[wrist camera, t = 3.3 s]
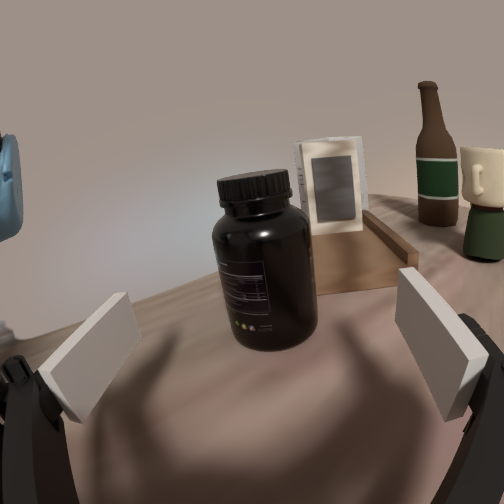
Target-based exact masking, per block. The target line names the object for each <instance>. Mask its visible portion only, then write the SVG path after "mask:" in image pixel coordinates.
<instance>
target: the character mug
mask: <svg viewBox="0 0 504 504" xmlns="http://www.w3.org/2000/svg"><path fill="white" fill-rule="evenodd" d="M460 153H461V168H462V174H463V185H462V196H463V198H464V199H465V200H467V201H468V202H470V205H471V209H470V211H469V215H468V221H467V226H466V231H465V237H464V244H463V252H465V253H466V254H467V255H470V256H477V257H479V259H480V260H482V259H483V258H487V259H495V260H498V259H504V210H503V207H504V150H501V149H488V148H474V147H460Z"/></svg>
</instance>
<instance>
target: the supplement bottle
mask: <svg viewBox="0 0 504 504" xmlns="http://www.w3.org/2000/svg"><path fill="white" fill-rule="evenodd" d="M217 187H218V192H219V197H220V200H219V203H220V207H222V208H224V209H225V215H224V216H223V217H222V218H221V219H220V220H219V221H218V222H217V223H216V225H215V226H214V229H213V232H212V240H213V246H214V251H215V255H216V260H217V265H218V270H219V275H220V279H221V284H222V288H223V293H224V297H225V302H226V306H227V311H228V315H229V319H230V323H231V327H232V331H233V334H234V336H235V338H236V339H237V340H238V341H239V342H240V343H241V344H242V345H244V346H246V347H248V348H250V349H253V350H257V351H264V352H274V351H282V350H286V349H289V348H292V347H295V346H297V345H299V344H301V343H302V342H304V341H305V340H307V339H308V338H309V337H310V336H311V335H312V334H313V332H314V331H315V329H316V326H317V323H318V311H317V295H316V282H315V270H314V259H313V248H312V238H311V229H310V222H309V219H308V217H307V216H306V214H305V213H304V212H303V211H302V210H300V209H299V208H297V207H295V206H293V205H291V204H290V202H289V198H290V197H292V189H291V188H290V182H289V175H288V170H286V169H275V170H264V171H257V172H250V173H245V174H239V175H235V176H230V177H226V178H222V179H219V180H217Z"/></svg>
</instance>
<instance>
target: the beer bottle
mask: <svg viewBox="0 0 504 504" xmlns="http://www.w3.org/2000/svg"><path fill="white" fill-rule="evenodd" d="M418 89H420V95H421V103H422V114H423V128H422V130H421V132H420V134H419V136H418V140H417V144H416V163H417V180H418V211H419V221H420V222H422V223H424V224H426V225H429V226H438V227H447V226H454V225H456V223H457V220H458V164H457V153H456V147H455V144H454V142H453V140H452V137H451V136H450V134H449V133H448V131H447V130H446V128H445V124H444V121H443V116H442V111H441V107H440V102H439V97H438V93H437V90H438V87H437V85H436V83H435V82H432V81H423V82H420V83H418Z"/></svg>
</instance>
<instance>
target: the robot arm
mask: <svg viewBox="0 0 504 504" xmlns="http://www.w3.org/2000/svg"><path fill="white" fill-rule="evenodd" d="M22 223H23V195H22V180H21V168H20V158H19V149H18V143H17V140H16V137H15V136H14V135H8V134H6V135H5V136H4V137H1V134H0V242H2V241H4V240H6V239H8V238H11V237H13V236H15V235H16V234H17V233H18V232H19V230H20V229H21V226H22ZM395 322H396V324H397V326H398V327H399V329H400V331H401V333H402V335H403V337H404V339H405V340H406V342H407V344H408V346H409V348H410V350H411V352H412V354H413V356H414V358H415V360H416V362H417V364H418V366H419V368H420V370H421V372H422V374H423V376H424V378H425V380H426V382H427V384H428V387H429V389H430V391H431V393H432V395H433V397H434V400H435V402H436V404H437V406H438V408H439V411H440V413H441V415H442V418H443V420H444V422H447V421H450V420H453V419H456V418H459V417H462V416H463V415H464V413H465V411H466V409H467V407H468V405H469V406H470V408H471V410H472V412H473V413H472V415H471V417H470V419H469V421H468V422H467V424H466V426H465V428H464V430H463V432H464V435H463V437H462V440H461V442H460V445H459V447H458V450H457V452H456V454H455V457H454V459H453V461H452V463H451V465H450V467H449V469H448V472H447V474H446V476H445V478H444V480H443V481H442V483H441V485H440V487H439V489H438V491H437V493H436V495H435V496H434V498H433V500H432V502H431V503H430V504H499V502H500V500H501V497H502V494H503V492H504V354H503V353H502V352H501V350H500V349H499V348H498V347H497V345H496V344H495V343H494V342H493V341H492V339H491V338H490V337H489V336H488V335H487V334H486V332H485V331H484V330H483V329H482V328H481V327H480V325H479V324H478V323H477V322H476V321H475V320H474V319H473V318H471V317H470V316H468V315H466V314H464V313H463V314H458V315H457V314H456V313H455V312H454V311H453V309H452V308H451V307H450V306H449V305H448V304H447V303H446V301H445V300H444V299H443V298H442V297H441V296H440V295H439V294H438V293H437V291H436V290H435V289H434V288H433V287H432V286H431V285H430V284H429V283H428V282H427V281H426V280H425V278H424V277H423V276H422V275H421V274H420V273H419V272H418V271H417V270H416V269H415V268H414V267H409V268H401V269H399V273H398V290H397V303H396V314H395ZM141 339H142V334H141V331H140V329H139V326H138V323H137V320H136V317H135V315H134V312H133V309H132V306H131V303H130V300H129V296H128V293H127V292H122V293H121V292H120V293H115V294H114V295H112V296H111V297H110V298H109V299H108V300H107V301H106V302H105V303H104V304H103V305H102V306H101V307H100V308H99V309H98V310H97V311H95V312H94V313H93V314H92V315H91V316H90V317H89V318H88V319H87V320H86V321H85V322H84V323H83V324H82V325H81V326H80V327H79V328H78V329H77V330H76V331H75V332H74V333H73V334H72V335H71V336H70V337H69V338H68V339H67V340H66V341H65V342H64V343H63V344H62V345H61V346H60V347H59V348H58V349H57V350H56V351H55V352H54V353H53V354H52V355H51V356H50V357H49V358H48V359H47V360H46V361H45V362H44V363H43V364H42V365H41V366H40V367H39V369H38V370H37V371H36V372H35V373H34V374H33V372H32V371H31V369H30V367H29V365H28V364H27V362H26V360H25V358H24V357H23V356H21V355H17V356H13V357H11V358H9V359H8V360H6V361H5V362H4V363H3V364H2V366H1V368H0V369H1V370H2V372H3V374H4V376H5V377H6V379H7V380H8V382H9V383H5V381H4V379H3V378H2V376H1V375H0V416H1V417H2V419H3V420H4V421H5V423H4V425H2V424H1V423H0V504H79V500H78V496H77V492H76V488H75V484H74V480H73V475H72V471H71V466H70V460H69V455H68V449H67V443H66V436H65V429H64V422H63V419H62V417H61V416H60V414H61V413H62V411H64V412H65V414H66V415H67V417H68V418H69V419H70V420H71V421H74V422H77V423H81V424H83V423H84V422H85V420H86V419H87V417H88V416H89V414H90V413H91V411H92V410H93V408H94V407H95V405H96V404H97V402H98V401H99V399H100V398H101V396H102V395H103V393H104V392H105V390H106V389H107V387H108V386H109V384H110V383H111V381H112V380H113V379H114V377H115V376H116V374H117V373H118V371H119V370H120V368H121V367H122V366H123V364H124V363H125V361H126V360H127V358H128V357H129V356H130V354H131V353H132V351H133V350H134V348H135V347H136V346H137V344H138V343H139V341H140V340H141Z"/></svg>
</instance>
